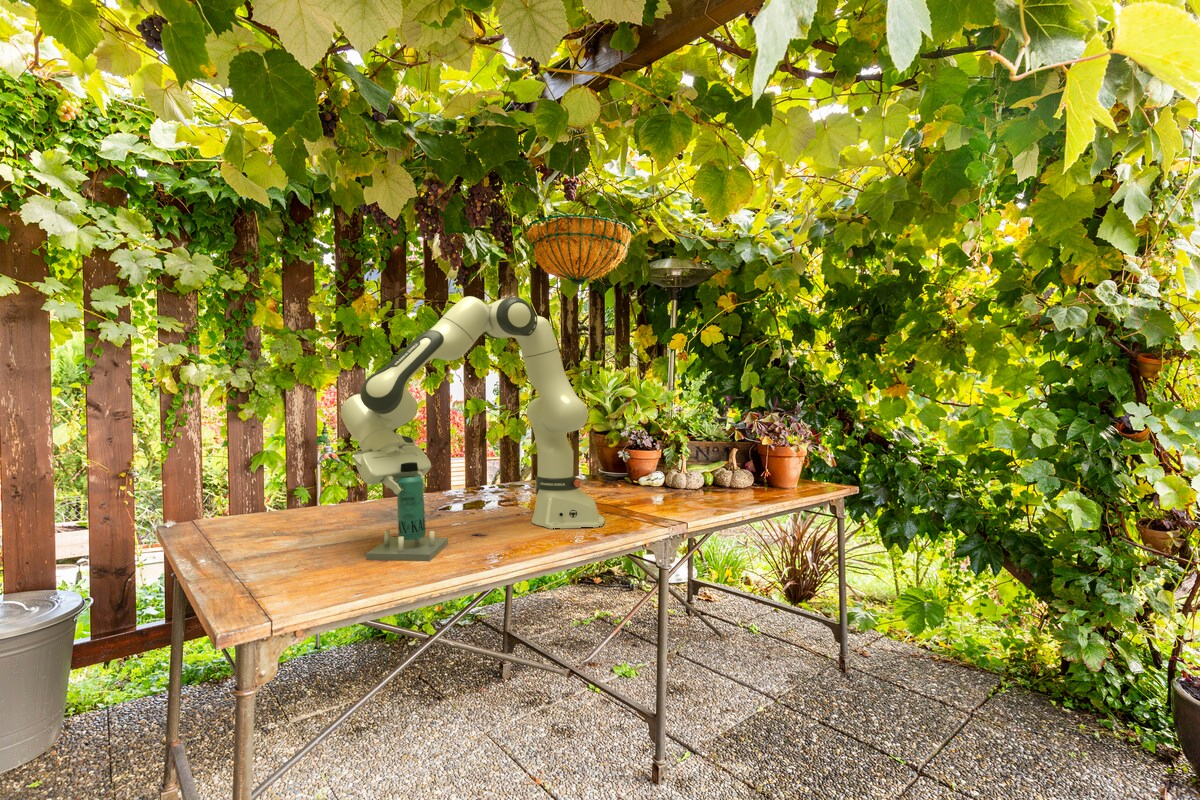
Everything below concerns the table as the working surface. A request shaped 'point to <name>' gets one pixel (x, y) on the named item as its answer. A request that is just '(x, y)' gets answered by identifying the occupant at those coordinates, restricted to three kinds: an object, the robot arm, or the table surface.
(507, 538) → the table surface
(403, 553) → the pin plate
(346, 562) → the table surface
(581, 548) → the table surface
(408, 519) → the beverage bottle
